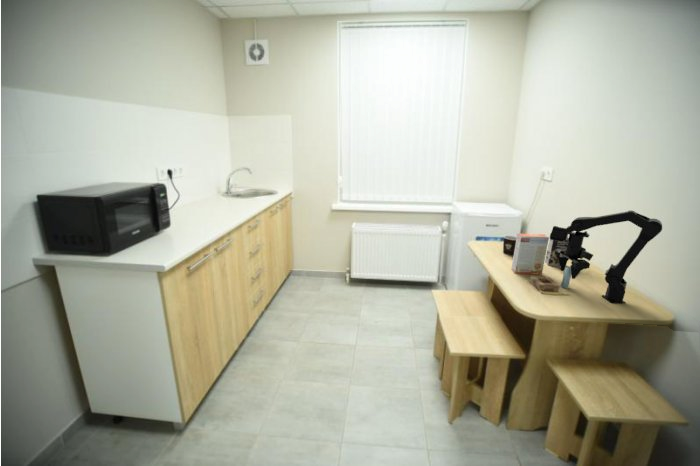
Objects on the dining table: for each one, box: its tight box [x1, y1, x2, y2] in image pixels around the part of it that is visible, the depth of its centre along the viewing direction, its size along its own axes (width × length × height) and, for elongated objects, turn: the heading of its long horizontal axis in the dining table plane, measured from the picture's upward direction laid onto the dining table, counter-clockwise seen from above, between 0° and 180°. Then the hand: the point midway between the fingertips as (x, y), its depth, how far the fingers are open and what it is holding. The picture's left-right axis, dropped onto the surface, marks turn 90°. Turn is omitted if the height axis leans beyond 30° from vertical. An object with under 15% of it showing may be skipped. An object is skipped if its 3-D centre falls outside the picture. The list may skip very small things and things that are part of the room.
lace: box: [538, 290, 570, 296], centre depth 158 cm, size 4×12×1 cm, turn 87°
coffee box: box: [544, 237, 569, 268], centre depth 190 cm, size 9×6×16 cm
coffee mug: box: [502, 235, 517, 256], centre depth 206 cm, size 12×9×10 cm
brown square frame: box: [529, 276, 561, 292], centre depth 162 cm, size 9×9×4 cm
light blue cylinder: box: [560, 266, 572, 289], centre depth 162 cm, size 3×3×10 cm
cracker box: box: [511, 233, 550, 275], centre depth 177 cm, size 14×6×21 cm, turn 86°
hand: (567, 274), depth 162 cm, fingers open, 9 cm apart
